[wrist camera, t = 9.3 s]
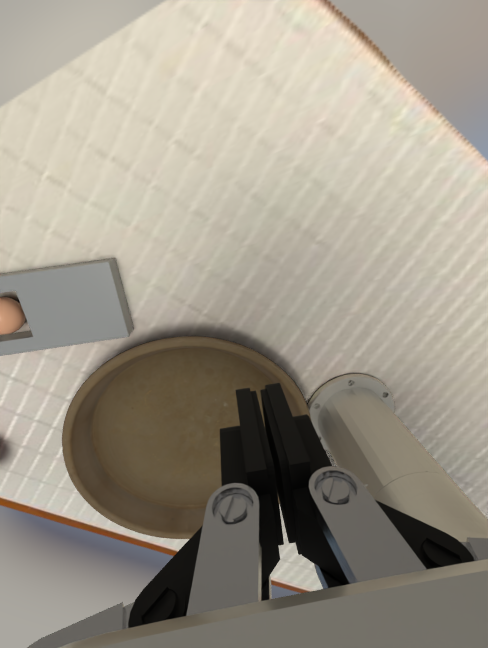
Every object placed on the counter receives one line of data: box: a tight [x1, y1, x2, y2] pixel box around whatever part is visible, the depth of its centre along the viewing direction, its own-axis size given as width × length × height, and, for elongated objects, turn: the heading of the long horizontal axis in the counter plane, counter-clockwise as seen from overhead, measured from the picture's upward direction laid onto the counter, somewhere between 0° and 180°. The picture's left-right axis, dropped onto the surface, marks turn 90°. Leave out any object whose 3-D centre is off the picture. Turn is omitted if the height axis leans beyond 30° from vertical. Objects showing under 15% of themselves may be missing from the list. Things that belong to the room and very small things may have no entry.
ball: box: [0, 297, 26, 335], centre depth 34 cm, size 4×4×4 cm
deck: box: [0, 258, 134, 356], centre depth 35 cm, size 8×16×2 cm, turn 97°
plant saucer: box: [62, 336, 312, 539], centre depth 42 cm, size 31×31×5 cm
